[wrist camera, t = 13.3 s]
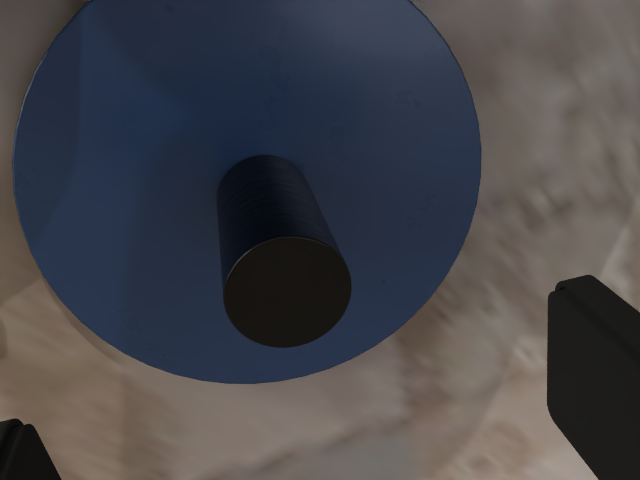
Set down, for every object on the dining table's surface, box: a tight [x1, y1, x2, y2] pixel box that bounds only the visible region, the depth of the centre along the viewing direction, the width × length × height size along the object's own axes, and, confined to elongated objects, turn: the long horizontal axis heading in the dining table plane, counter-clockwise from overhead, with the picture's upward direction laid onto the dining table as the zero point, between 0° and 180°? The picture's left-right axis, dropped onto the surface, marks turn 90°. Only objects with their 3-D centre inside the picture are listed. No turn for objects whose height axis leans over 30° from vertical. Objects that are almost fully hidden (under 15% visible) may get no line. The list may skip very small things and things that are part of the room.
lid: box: [12, 0, 481, 384], centre depth 17 cm, size 15×15×7 cm
